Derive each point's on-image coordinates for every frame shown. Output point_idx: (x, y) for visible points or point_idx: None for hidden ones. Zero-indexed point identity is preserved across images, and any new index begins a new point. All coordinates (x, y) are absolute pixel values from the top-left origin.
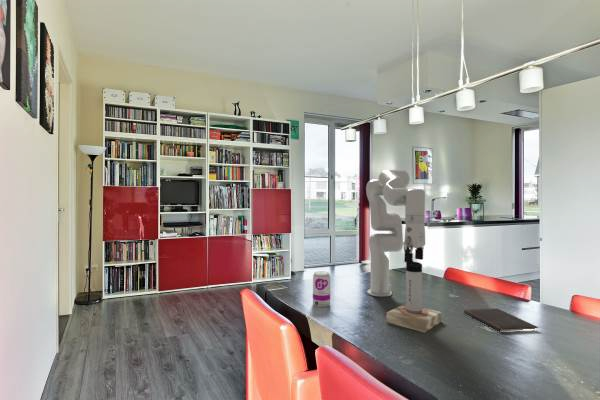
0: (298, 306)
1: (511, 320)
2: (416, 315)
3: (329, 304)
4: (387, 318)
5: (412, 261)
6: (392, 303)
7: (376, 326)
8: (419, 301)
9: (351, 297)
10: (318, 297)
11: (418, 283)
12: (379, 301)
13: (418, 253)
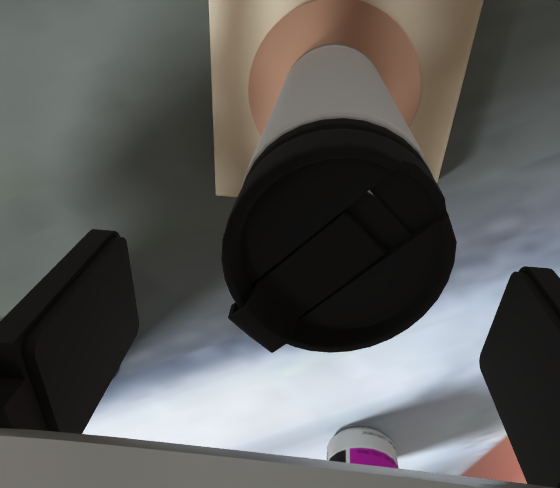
0: None
1: None
2: (404, 50)
3: (356, 429)
4: None
5: (541, 278)
6: (137, 269)
7: (505, 204)
8: (362, 61)
9: (199, 407)
10: None
11: (386, 100)
12: (157, 318)
13: (91, 354)
